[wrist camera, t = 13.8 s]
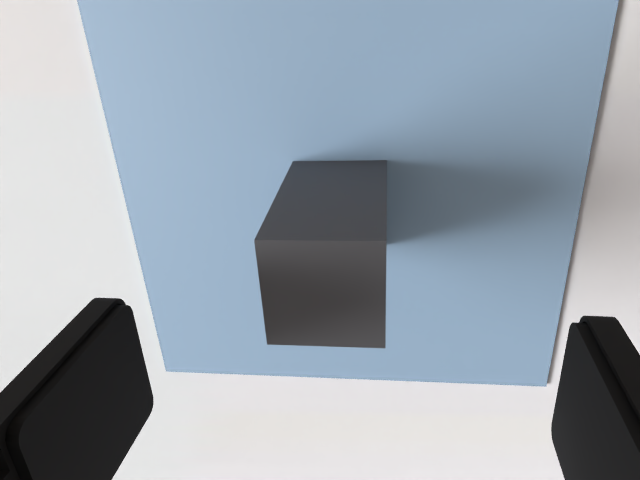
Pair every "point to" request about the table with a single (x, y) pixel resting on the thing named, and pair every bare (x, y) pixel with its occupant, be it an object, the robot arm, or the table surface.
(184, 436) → the table surface
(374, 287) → the lid
